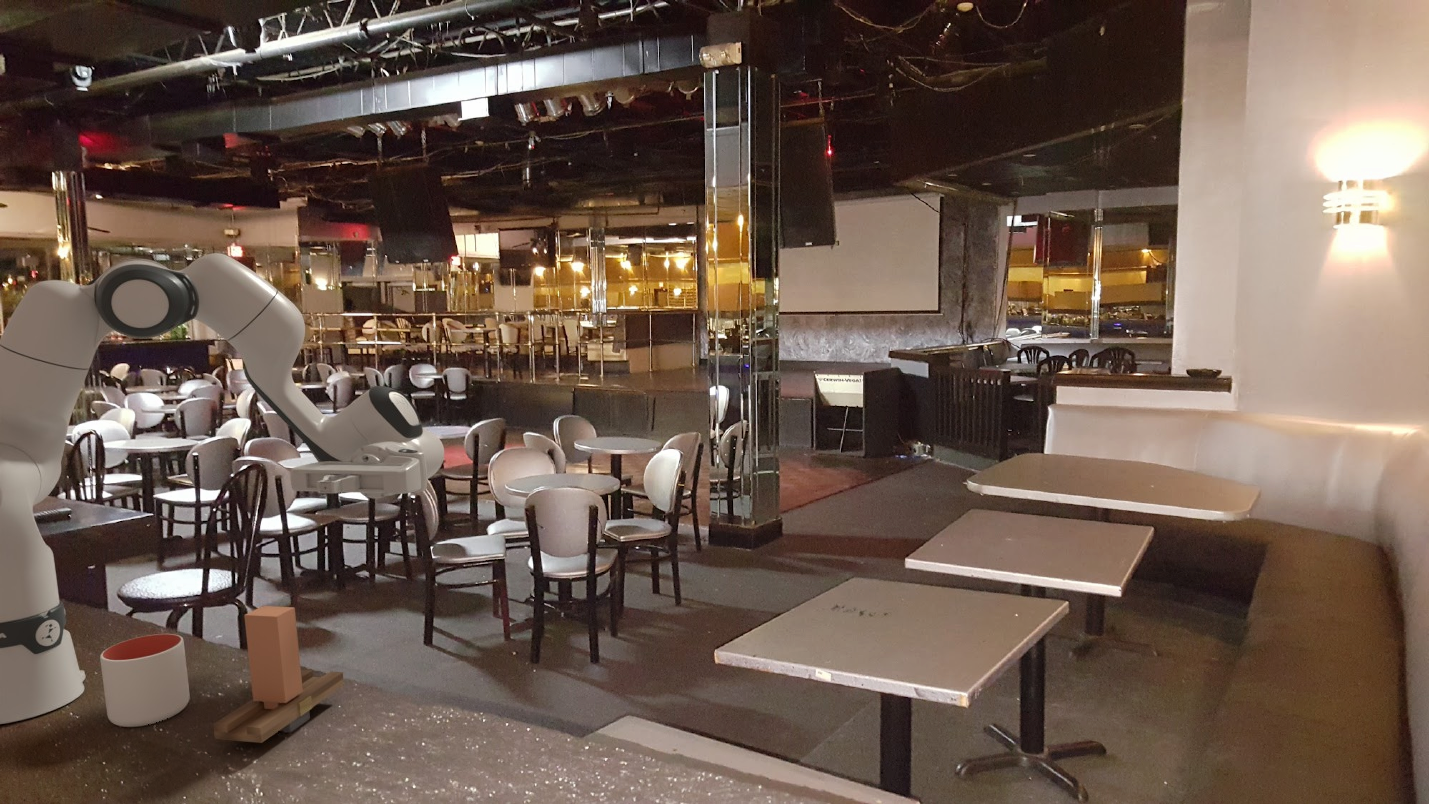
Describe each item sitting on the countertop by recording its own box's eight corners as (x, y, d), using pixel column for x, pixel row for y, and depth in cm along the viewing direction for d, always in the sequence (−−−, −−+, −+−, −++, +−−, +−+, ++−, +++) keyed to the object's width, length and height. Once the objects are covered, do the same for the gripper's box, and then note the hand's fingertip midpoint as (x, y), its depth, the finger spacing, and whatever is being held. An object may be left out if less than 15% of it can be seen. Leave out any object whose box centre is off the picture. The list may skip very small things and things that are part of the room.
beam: (215, 753, 117) (212, 723, 117) (302, 695, 134) (299, 669, 133) (264, 757, 115) (261, 728, 115) (346, 698, 132) (343, 672, 131)
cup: (152, 733, 123) (143, 662, 122) (90, 728, 125) (81, 659, 124) (206, 700, 133) (199, 634, 132) (148, 696, 135) (141, 632, 134)
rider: (254, 708, 122) (244, 615, 121) (272, 697, 126) (262, 605, 124) (286, 711, 121) (276, 616, 120) (303, 699, 125) (294, 607, 123)
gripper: (321, 450, 150) (262, 465, 137) (433, 451, 146) (384, 468, 132) (324, 487, 151) (266, 506, 138) (435, 490, 147) (387, 510, 133)
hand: (325, 487), depth 135 cm, fingers closed
